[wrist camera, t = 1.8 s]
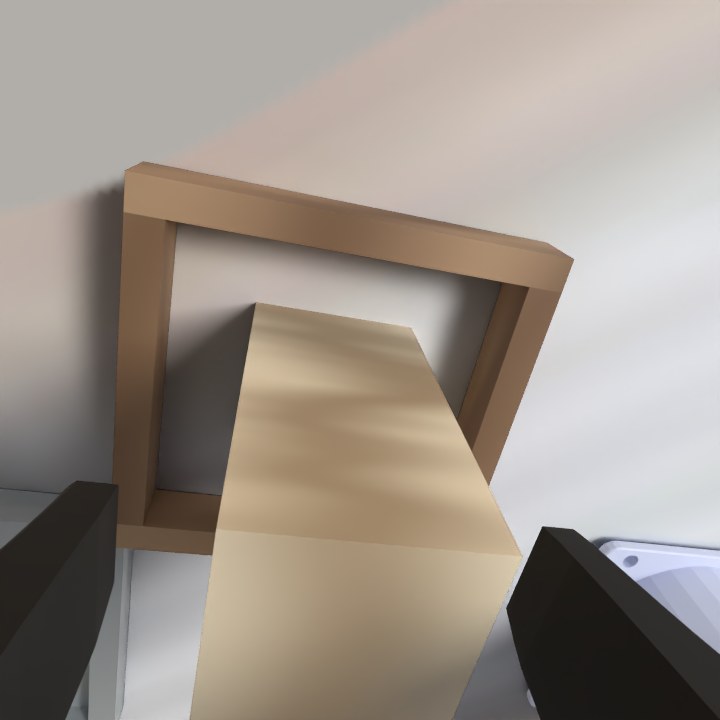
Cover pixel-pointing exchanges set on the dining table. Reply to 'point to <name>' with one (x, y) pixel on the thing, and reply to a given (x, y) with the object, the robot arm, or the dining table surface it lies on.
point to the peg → (347, 534)
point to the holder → (321, 230)
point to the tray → (108, 662)
